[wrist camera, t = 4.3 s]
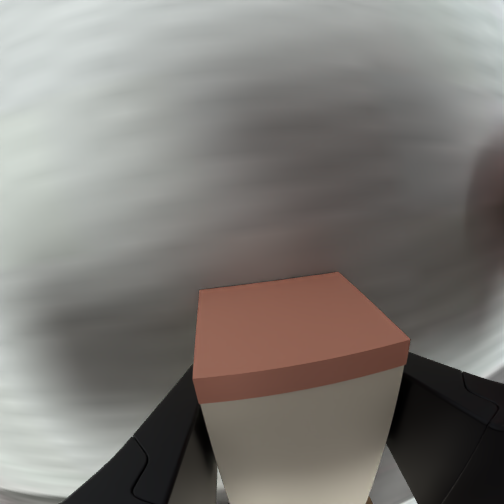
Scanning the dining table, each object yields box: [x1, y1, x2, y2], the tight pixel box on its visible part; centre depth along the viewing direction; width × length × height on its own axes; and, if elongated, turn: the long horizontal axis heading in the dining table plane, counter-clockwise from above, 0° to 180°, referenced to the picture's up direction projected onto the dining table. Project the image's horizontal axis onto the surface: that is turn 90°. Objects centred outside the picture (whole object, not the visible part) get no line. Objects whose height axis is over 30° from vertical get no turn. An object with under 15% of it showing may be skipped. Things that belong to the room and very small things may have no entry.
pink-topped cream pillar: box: [193, 272, 411, 504], centre depth 9 cm, size 14×4×4 cm, turn 5°
